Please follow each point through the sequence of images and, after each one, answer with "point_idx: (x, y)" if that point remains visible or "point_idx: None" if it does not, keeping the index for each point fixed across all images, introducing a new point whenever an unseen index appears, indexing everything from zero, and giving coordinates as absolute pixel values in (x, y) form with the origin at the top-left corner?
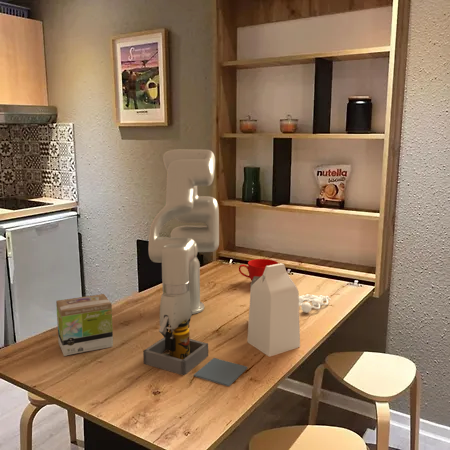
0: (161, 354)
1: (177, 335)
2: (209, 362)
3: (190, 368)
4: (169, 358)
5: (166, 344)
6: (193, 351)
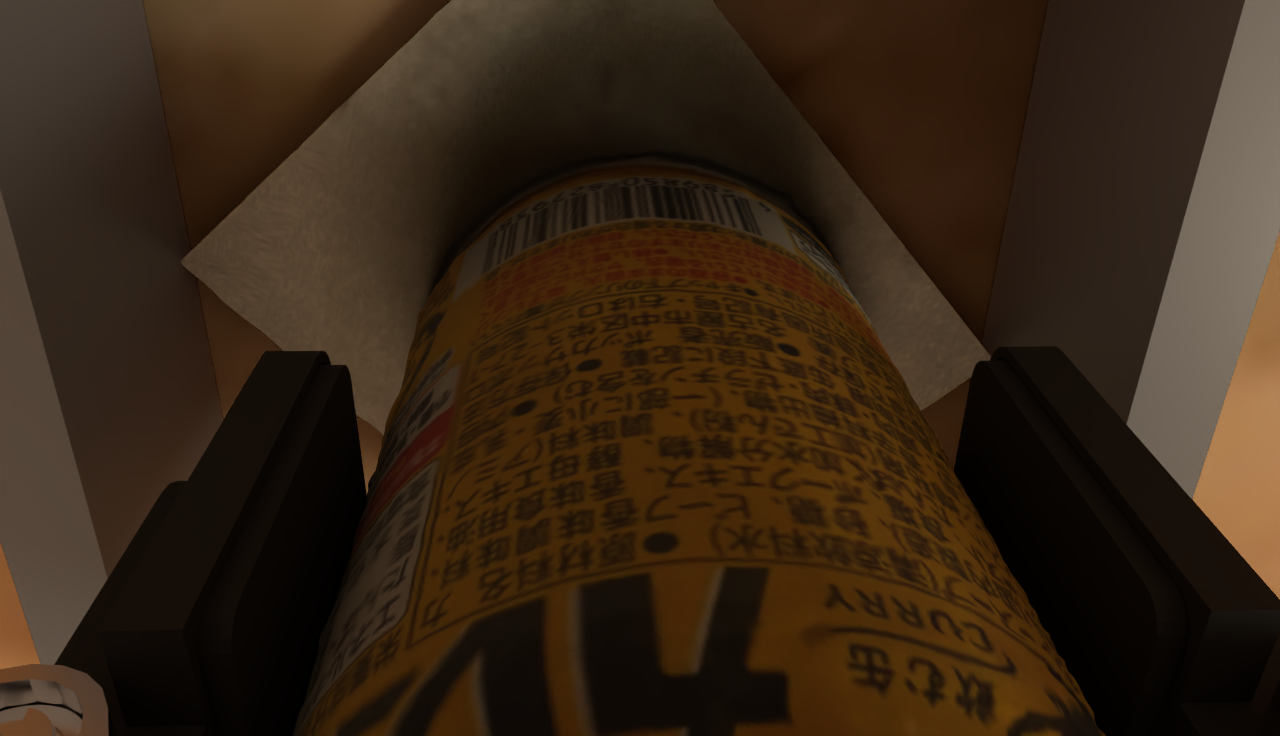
0: (17, 372)
1: None
2: None
3: None
4: (32, 622)
5: (132, 559)
6: None
